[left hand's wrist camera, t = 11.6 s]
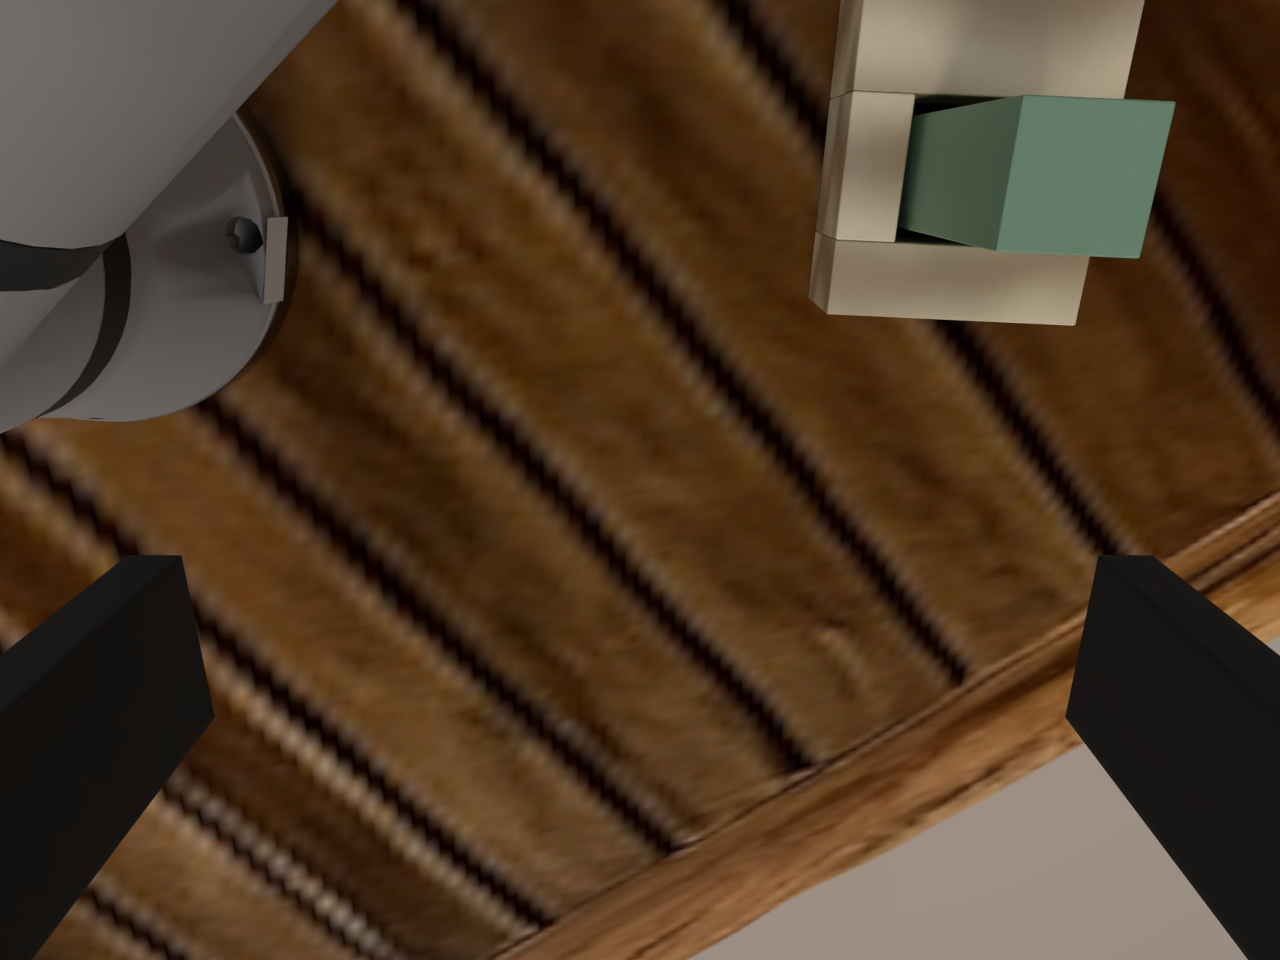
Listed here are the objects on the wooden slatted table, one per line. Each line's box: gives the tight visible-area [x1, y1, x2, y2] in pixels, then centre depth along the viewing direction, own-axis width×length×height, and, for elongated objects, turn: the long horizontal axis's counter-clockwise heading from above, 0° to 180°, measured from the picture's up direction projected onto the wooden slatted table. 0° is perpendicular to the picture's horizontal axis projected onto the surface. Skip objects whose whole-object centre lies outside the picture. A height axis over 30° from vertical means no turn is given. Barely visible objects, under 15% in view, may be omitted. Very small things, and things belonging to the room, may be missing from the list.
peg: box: [897, 94, 1175, 258], centre depth 28 cm, size 4×4×12 cm
